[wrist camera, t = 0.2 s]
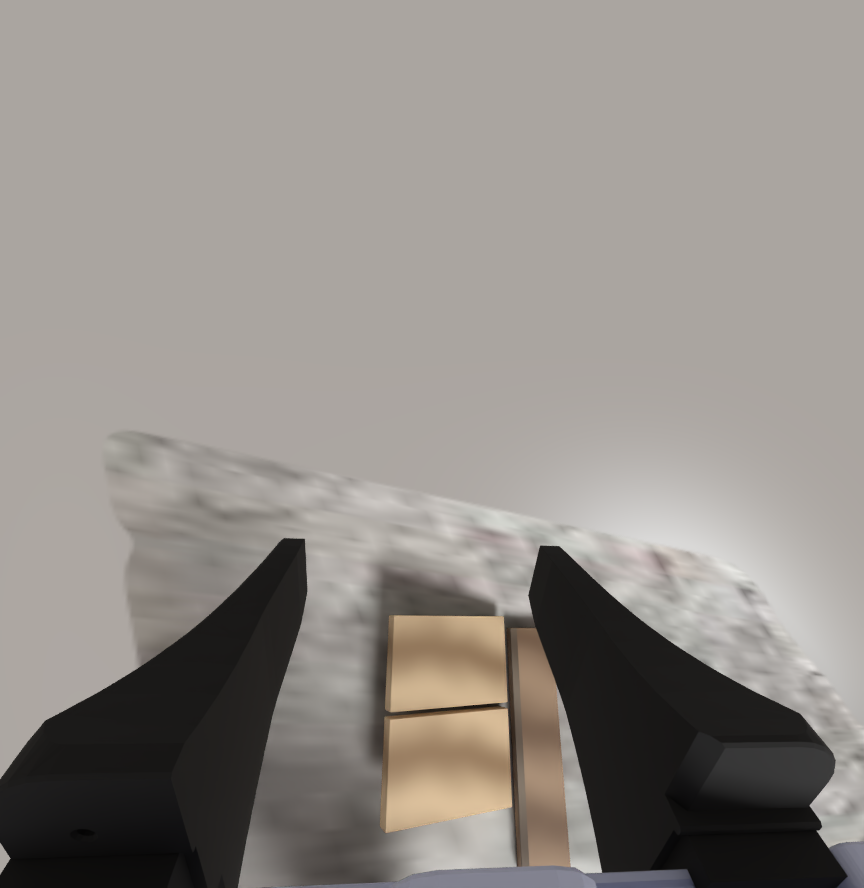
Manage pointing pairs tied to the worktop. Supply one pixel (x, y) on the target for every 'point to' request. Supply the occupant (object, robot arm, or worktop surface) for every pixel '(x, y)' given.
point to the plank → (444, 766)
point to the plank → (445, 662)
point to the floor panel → (536, 754)
